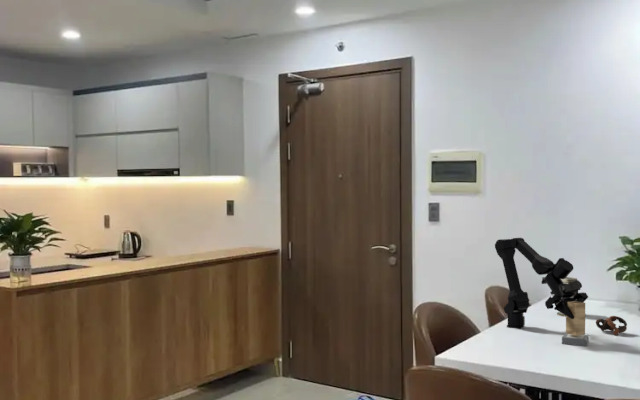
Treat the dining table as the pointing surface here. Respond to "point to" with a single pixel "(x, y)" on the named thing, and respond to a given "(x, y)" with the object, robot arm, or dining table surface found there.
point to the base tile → (575, 339)
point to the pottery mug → (612, 324)
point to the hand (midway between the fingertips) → (578, 317)
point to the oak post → (576, 318)
